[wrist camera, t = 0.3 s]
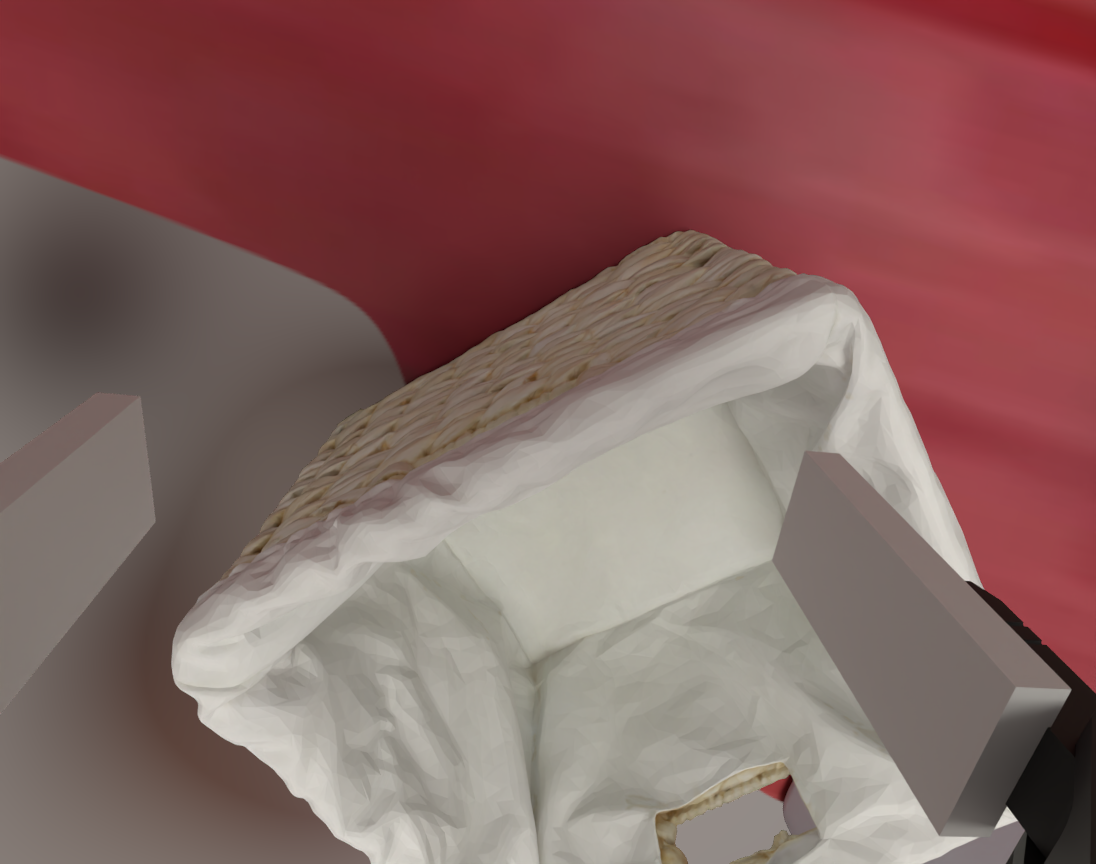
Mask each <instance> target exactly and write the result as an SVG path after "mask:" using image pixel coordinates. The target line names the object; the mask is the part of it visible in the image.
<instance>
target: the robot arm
mask: <svg viewBox="0 0 1096 864" xmlns="http://www.w3.org/2000/svg"><path fill="white" fill-rule="evenodd" d="M155 522H156V519H155V511H154V503H153V495H152V488H151V479H150V471H149V462H148V454H147V446H146V438H145V430H144V421H143V413H142V405H141V397H140V396H131V395H120V394H108V393H96V394H94V395H93V396H92V397H90V398H89V399H88V400H87V401H85V402H84V403H82V404H81V405H79V406H78V407H77V408H76V409H74V410H73V411H71V412H70V413H69V414H67V415H66V416H64V417H63V418H62V419H60V420H59V421H58V422H56V423H55V424H54V425H52V426H51V427H49V428H48V429H47V430H45V431H44V432H43V433H41V434H40V435H39V436H37V437H36V438H34V439H33V440H32V441H30V442H29V443H28V444H26V445H25V446H24V447H22V448H21V449H19V450H18V451H17V452H15V453H14V454H13V455H11V456H10V457H9V458H7V459H6V460H4V461H3V462H2V463H0V714H1V713H2V712H3V711H4V709H5V708H6V707H7V706H8V704H9V703H10V702H11V701H12V699H13V698H14V697H15V696H16V695H17V693H18V692H19V691H20V690H21V688H22V687H23V686H24V685H25V683H26V682H27V681H28V680H29V678H30V677H31V676H32V675H33V673H34V672H35V671H36V670H37V668H38V667H39V666H40V665H41V663H42V662H43V661H44V660H45V658H46V657H47V656H48V654H50V652H51V651H52V650H53V649H54V647H55V646H56V645H57V644H58V642H59V641H60V640H61V639H62V637H63V636H64V635H65V634H66V632H67V631H68V630H69V629H70V627H71V626H72V625H73V623H74V622H75V621H76V620H77V619H78V617H79V616H80V615H81V614H82V613H83V611H84V610H85V609H86V608H87V606H88V605H89V604H90V602H91V601H92V600H93V599H94V598H95V596H96V595H97V594H98V593H99V591H100V590H101V589H102V587H103V586H104V585H105V584H106V583H107V581H108V580H109V579H110V577H111V576H112V575H113V574H114V573H115V571H116V570H117V569H118V568H119V567H120V565H121V564H122V563H123V562H124V560H125V559H126V558H127V557H128V555H129V554H130V553H131V552H132V550H133V549H134V548H135V546H136V545H137V544H138V543H139V542H140V540H141V539H142V538H143V537H144V535H145V534H146V533H147V532H148V530H149V529H150V528H151V527H152V525H153V524H154V523H155ZM772 562H773V563H774V565H775V567H776V568H777V570H778V571H779V573H780V575H781V576H782V578H783V580H784V581H785V583H786V585H787V586H788V588H789V590H790V591H791V593H792V595H793V596H794V598H795V600H796V601H797V603H798V604H799V606H800V608H801V609H802V611H803V613H804V614H805V616H806V618H807V619H808V621H809V623H810V624H811V626H812V628H813V629H814V631H815V632H816V634H817V636H818V637H819V639H820V641H821V642H822V644H823V646H824V647H825V649H826V651H827V652H828V654H829V656H830V657H831V659H832V660H833V662H834V664H835V665H836V667H837V669H838V670H839V672H840V674H841V675H842V677H843V679H844V680H845V682H846V684H847V685H848V687H849V688H850V690H851V692H852V693H853V695H854V697H855V698H856V700H857V702H858V703H859V705H860V707H861V708H862V710H863V712H864V713H865V715H866V716H867V718H868V720H869V721H870V723H871V725H872V726H873V728H874V730H875V731H876V733H877V735H878V736H879V738H880V740H881V741H882V743H883V744H884V746H885V748H886V749H887V751H888V753H889V754H890V756H891V758H892V759H893V761H894V763H895V764H896V766H897V768H898V769H899V771H900V772H901V774H902V776H903V777H904V779H905V781H906V782H907V784H908V786H909V787H910V789H911V791H912V792H913V794H914V796H915V797H916V799H917V800H918V802H919V804H920V805H921V807H922V809H923V810H924V812H925V814H926V815H927V817H928V819H929V820H930V822H931V824H932V825H933V827H934V828H935V830H936V832H937V833H938V835H939V836H944V837H990V836H991V834H992V832H993V830H994V829H995V827H996V825H997V823H998V821H999V820H1000V818H1001V816H1002V814H1003V812H1004V811H1005V809H1006V807H1008V808H1009V809H1010V811H1011V812H1012V814H1013V815H1014V816H1015V818H1016V819H1017V820H1018V822H1019V823H1020V825H1021V826H1022V827H1023V829H1024V830H1025V831H1024V833H1023V835H1022V836H1021V838H1020V840H1019V841H1018V843H1017V845H1016V847H1015V848H1014V850H1013V852H1012V853H1011V855H1010V857H1009V859H1008V860H1007V862H1006V864H1096V693H1095V692H1093V691H1092V690H1091V689H1090V688H1089V687H1088V686H1087V685H1086V684H1085V683H1084V682H1083V681H1082V680H1081V679H1080V678H1079V677H1078V676H1077V675H1076V674H1075V673H1074V672H1073V671H1072V670H1071V669H1070V668H1069V667H1068V666H1067V665H1066V664H1065V663H1064V662H1063V661H1062V660H1061V659H1060V658H1059V657H1058V656H1057V655H1056V654H1055V653H1054V652H1053V651H1052V650H1051V649H1050V648H1049V647H1048V646H1047V645H1042V644H1041V641H1042V640H1041V639H1040V638H1039V637H1038V636H1036V635H1035V634H1034V633H1033V632H1032V631H1031V630H1030V629H1029V628H1028V627H1024V626H1023V622H1022V621H1021V620H1020V619H1019V618H1018V617H1017V616H1016V615H1015V614H1014V613H1013V612H1012V611H1011V610H1010V609H1009V608H1008V607H1007V606H1006V605H1005V604H1004V603H1003V602H1002V601H1001V600H999V599H998V598H996V597H995V596H993V595H991V594H990V593H988V592H987V591H985V590H984V589H982V588H981V587H979V586H978V585H976V584H974V583H973V582H971V581H965V580H964V579H963V578H962V577H961V576H960V575H959V574H958V573H957V572H956V571H955V570H954V569H953V568H952V567H951V566H950V565H949V564H948V563H947V562H946V561H945V560H944V559H943V558H942V557H941V556H940V555H939V554H938V553H937V552H936V551H935V550H934V549H933V548H932V547H931V546H930V545H929V544H928V543H927V542H926V541H925V540H924V539H923V538H922V537H921V536H920V535H919V534H918V533H917V532H916V531H915V530H914V529H913V528H912V527H911V526H910V525H909V524H908V523H907V522H906V521H905V520H904V519H903V518H902V516H901V515H900V514H899V513H898V512H897V511H896V510H895V509H894V508H893V507H892V506H891V505H890V504H889V503H888V502H887V501H886V500H885V499H884V498H883V497H882V496H881V495H880V494H879V493H878V492H877V491H876V490H875V489H874V488H873V487H872V486H871V485H870V484H869V483H868V482H867V481H866V480H865V479H864V478H863V477H862V476H861V475H860V474H859V473H858V472H857V471H856V470H855V469H854V468H853V467H852V466H851V465H850V464H849V463H848V462H847V461H846V460H845V459H844V458H843V457H842V456H841V455H840V454H839V453H827V452H815V451H805V452H804V455H803V458H802V462H801V465H800V468H799V472H798V475H797V478H796V482H795V485H794V488H793V492H792V495H791V498H790V502H789V505H788V508H787V512H786V515H785V518H784V522H783V525H782V528H781V532H780V535H779V538H778V542H777V545H776V548H775V552H774V555H773V558H772Z"/></svg>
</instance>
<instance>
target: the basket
mask: <svg viewBox="0 0 1096 864" xmlns="http://www.w3.org/2000/svg"><path fill="white" fill-rule="evenodd" d="M805 451H815V452H827V453H839V454H840V455H841V456H842V457H843V458H844V459H845V460H846V461H847V462H848V463H849V464H850V465H851V466H852V467H853V468H854V469H855V470H856V471H857V472H858V473H859V474H860V475H861V476H862V477H863V478H864V479H865V480H866V481H867V482H868V483H869V484H870V485H871V486H872V487H873V488H874V489H875V490H876V491H877V492H878V493H879V494H880V495H881V496H882V497H883V498H884V499H885V500H886V501H887V502H888V503H889V504H890V505H891V506H892V507H893V508H894V509H895V510H896V511H897V512H898V513H899V514H900V515H901V516H902V518H903V519H904V520H905V521H906V522H907V523H908V524H909V525H910V526H911V527H912V528H913V529H914V530H915V531H916V532H917V533H918V534H919V535H920V536H921V537H922V538H923V539H924V540H925V541H926V542H927V543H928V544H929V545H930V546H931V547H932V548H933V549H934V550H935V551H936V552H937V553H938V554H939V555H940V556H941V557H942V558H943V559H944V560H945V561H946V562H947V563H948V564H949V565H950V566H951V567H952V568H953V569H954V570H955V571H956V572H957V573H958V574H959V575H960V576H961V577H962V578H963V579H964V580H965V581H971V582H973V583H974V584H976V585H978V586H979V587H981V588H982V589H984V588H983V586H982V584H981V582H980V580H979V577H978V574H977V571H976V569H975V566H974V563H973V560H972V557H971V554H970V551H969V548H968V546H967V543H966V540H965V537H964V534H963V532H962V529H961V527H960V525H959V523H958V521H957V518H956V516H955V514H954V512H953V510H952V507H951V505H950V503H949V501H948V498H947V496H946V494H945V492H944V490H943V487H942V485H941V483H940V481H939V479H938V477H937V476H936V474H935V472H934V471H933V469H932V466H931V463H930V460H929V457H928V454H927V452H926V449H925V447H924V444H923V442H922V440H921V437H920V435H919V432H918V430H917V427H916V425H915V422H914V420H913V417H912V415H911V413H910V411H909V409H908V407H907V405H906V403H905V402H904V400H903V398H902V395H901V392H900V389H899V386H898V383H897V380H896V378H895V376H894V374H893V371H892V369H891V367H890V365H889V362H888V360H887V357H886V355H885V352H884V349H883V347H882V344H881V342H880V340H879V337H878V335H877V333H876V331H875V328H874V326H873V324H872V322H871V319H870V317H869V316H868V314H867V313H866V312H865V310H864V309H863V307H862V306H861V304H860V303H859V301H858V299H857V298H856V296H855V295H854V293H853V292H852V291H851V290H849V289H848V288H846V287H845V286H843V285H840V284H837V283H834V282H832V281H830V280H828V279H826V278H823V277H820V276H816V275H807V274H804V273H803V274H799V275H797V274H796V273H795V272H793V271H792V270H790V269H788V268H781V269H780V268H777V267H773V266H772V265H771V264H770V263H769V262H768V261H766V260H764V259H762V258H761V257H760V256H758V255H756V254H750V253H747V252H746V251H743V250H735V249H732V248H731V247H728V246H726V245H725V244H723V243H722V242H720V241H719V240H717V239H716V238H713V237H710V236H709V235H707V234H703V233H699V232H696V231H694V230H688V231H686V232H681V231H677V232H675V233H673V234H671V235H669V236H668V237H659V238H658V239H656V240H655V241H653V242H651V243H650V244H648V245H646V246H642V247H640V248H638V249H637V250H635V251H634V252H632V253H631V254H629V255H627V256H626V257H625V258H624V259H623V260H622V261H621V262H620V263H619V264H618V266H614V267H608V268H606V269H605V270H603V271H602V272H600V273H599V274H598V275H597V276H596V277H594V278H593V279H591V280H589V281H588V282H587V283H585V284H583V285H581V286H579V287H578V288H576V289H571V290H569V291H568V292H567V293H565V294H564V295H562V296H560V297H559V298H557V299H556V300H555V301H553V302H552V303H550V304H548V305H547V306H545V307H543V308H542V309H540V310H539V311H538V312H536V313H534V314H532V315H530V316H528V317H526V318H525V319H523V320H521V321H519V322H518V323H516V324H514V325H512V326H510V327H508V328H506V329H505V330H504V331H498V332H496V333H494V334H492V335H491V336H490V337H488V338H487V339H486V340H484V341H483V342H482V343H480V344H479V345H477V346H475V347H473V348H471V349H469V350H468V351H467V352H465V353H464V354H463V355H461V356H459V357H457V358H456V359H454V360H453V361H451V362H450V363H448V364H447V365H444V366H442V367H440V368H438V369H436V370H434V371H432V372H429V373H427V374H425V375H422V376H420V377H418V378H417V379H415V380H414V381H412V382H411V383H409V384H407V385H406V386H404V387H402V388H400V389H399V390H397V391H395V392H393V393H391V394H389V395H388V396H386V397H385V398H384V399H382V400H380V401H379V402H377V403H376V404H374V405H372V406H370V407H368V408H366V409H360V410H358V411H357V412H355V413H353V414H352V415H350V416H348V417H347V418H345V419H344V420H343V421H341V422H340V423H339V424H338V425H337V427H336V428H335V429H334V431H333V432H332V434H331V435H330V437H329V438H328V440H327V441H326V443H325V444H323V445H322V447H321V448H320V450H319V452H318V456H317V457H316V458H314V459H313V460H312V461H311V462H310V463H309V464H307V465H306V466H305V467H304V468H303V469H302V470H301V472H300V474H299V476H298V480H296V482H295V483H294V485H293V486H292V487H291V488H290V490H289V492H287V493H286V494H285V496H284V497H283V498H282V499H281V501H280V503H279V505H278V507H276V509H275V510H274V511H273V513H272V514H270V515H269V516H268V518H266V520H265V522H264V524H263V525H262V527H261V529H260V532H259V535H258V536H257V537H255V538H254V539H252V540H251V541H250V542H249V543H248V544H247V545H246V547H245V548H244V550H243V551H242V554H241V556H240V558H238V559H237V560H235V562H234V563H233V565H232V567H231V569H229V570H227V571H226V572H225V573H224V575H223V576H222V578H221V580H219V581H218V582H217V583H216V584H215V585H214V586H213V587H211V588H210V589H209V590H208V591H206V592H205V593H203V594H202V595H201V596H200V597H199V598H198V600H197V603H196V604H195V605H194V606H193V608H192V609H191V610H190V611H189V612H188V613H187V615H186V616H185V617H184V619H183V620H182V621H181V623H180V624H179V626H178V627H177V630H176V633H175V636H174V639H173V648H172V662H171V665H172V673H173V677H174V681H175V684H176V685H177V687H178V688H179V689H180V690H182V691H184V692H185V693H187V694H189V695H190V696H192V697H194V698H195V699H196V700H197V702H198V717H199V719H200V721H201V722H202V723H203V724H204V725H206V726H207V727H209V728H210V729H211V730H213V731H214V732H216V733H217V734H218V735H220V736H221V737H222V738H224V739H226V740H228V741H229V742H232V743H233V744H236V745H242V746H245V747H246V748H247V749H248V750H249V751H251V752H252V753H253V754H254V755H255V756H257V757H258V758H259V759H260V760H261V761H263V762H264V763H266V764H267V765H269V766H270V767H271V768H272V769H274V770H275V771H276V773H277V774H278V775H279V776H280V777H281V778H282V779H283V780H284V782H285V784H286V786H287V787H288V789H289V790H290V792H291V793H292V794H293V795H294V796H296V797H299V798H304V799H305V800H306V801H307V802H308V803H309V804H310V806H311V808H312V810H313V812H314V813H315V814H316V815H317V816H318V817H319V818H320V819H321V820H322V821H323V822H324V823H325V824H326V825H327V826H328V828H329V829H330V831H331V832H332V833H333V835H334V836H335V837H336V838H338V839H340V840H342V841H344V842H346V843H348V844H349V845H351V846H353V847H354V848H356V849H358V850H360V851H363V852H364V853H365V854H366V855H367V856H368V857H369V859H370V862H371V864H688V862H687V859H686V857H685V855H684V854H683V852H682V851H681V850H680V849H679V848H677V847H676V845H675V840H676V835H677V827H676V826H677V825H678V824H683V823H684V822H685V821H686V820H687V819H688V820H692V819H693V818H694V817H696V816H698V815H702V814H704V813H705V812H706V811H707V810H713V809H715V808H716V807H721V806H722V804H723V803H729V802H732V801H734V800H736V799H738V798H740V797H741V796H742V795H745V794H750V793H751V792H753V791H756V790H759V789H761V788H762V787H764V786H767V785H769V784H771V783H773V782H775V781H777V780H779V779H785V778H787V777H788V776H789V775H791V776H792V778H793V781H794V783H795V786H796V788H797V790H798V792H799V794H800V797H801V799H802V800H803V802H804V804H805V806H806V808H807V809H808V811H809V813H810V815H811V817H812V819H813V821H814V823H815V825H816V828H813V829H811V830H808V831H806V832H804V833H802V834H799V835H794V834H792V835H788V833H787V831H784V830H781V831H780V833H779V834H778V835H776V836H774V843H773V845H772V847H771V848H770V849H769V850H760V851H758V852H756V853H754V854H753V855H751V856H748V857H744V858H740V859H738V860H736V861H733V862H731V863H730V864H923V863H925V862H928V861H930V860H933V859H935V858H938V857H941V856H942V855H944V854H946V853H947V852H949V851H950V850H952V849H954V848H956V847H959V846H961V845H963V844H966V843H968V842H970V841H972V840H975V839H977V838H979V837H944V836H939V835H938V833H937V832H936V830H935V828H934V827H933V825H932V824H931V822H930V820H929V819H928V817H927V815H926V814H925V812H924V810H923V809H922V807H921V805H920V804H919V802H918V800H917V799H916V797H915V796H914V794H913V792H912V791H911V789H910V787H909V786H908V784H907V782H906V781H905V779H904V777H903V776H902V774H901V772H900V771H899V769H898V768H897V766H896V764H895V763H894V761H893V759H892V758H891V756H890V754H889V753H888V751H887V749H886V748H885V746H884V744H883V743H882V741H881V740H880V738H879V736H878V735H877V733H876V731H875V730H874V728H873V726H872V725H871V723H870V721H869V720H868V718H867V716H866V715H865V713H864V712H863V710H862V708H861V707H860V705H859V703H858V702H857V700H856V698H855V697H854V695H853V693H852V692H851V690H850V688H849V687H848V685H847V684H846V682H845V680H844V679H843V677H842V675H841V674H840V672H839V670H838V669H837V667H836V665H835V664H834V662H833V660H832V659H831V657H830V656H829V654H828V652H827V651H826V649H825V647H824V646H823V644H822V642H821V641H820V639H819V637H818V636H817V634H816V632H815V631H814V629H813V628H812V626H811V624H810V623H809V621H808V619H807V618H806V616H805V614H804V613H803V611H802V609H801V608H800V606H799V604H798V603H797V601H796V600H795V598H794V596H793V595H792V593H791V591H790V590H789V588H788V586H787V585H786V583H785V581H784V580H783V578H782V576H781V575H780V573H779V571H778V570H777V568H776V567H775V565H774V563H773V562H772V558H773V555H774V552H775V548H776V545H777V542H778V538H779V535H780V532H781V528H782V525H783V522H784V518H785V515H786V512H787V508H788V505H789V502H790V498H791V495H792V492H793V488H794V485H795V482H796V478H797V475H798V472H799V468H800V465H801V462H802V458H803V455H804V452H805ZM1016 821H1018V820H1017V819H1016V818H1015V816H1014V815H1013V814H1012V812H1011V811H1010V809H1009V808H1008V807H1006V809H1005V811H1004V812H1003V814H1002V816H1001V818H1000V820H999V821H998V823H997V825H996V827H995V829H997V828H1000V827H1003V826H1005V825H1008V824H1011V823H1013V822H1016ZM995 829H994V830H995Z"/></svg>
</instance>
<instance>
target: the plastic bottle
mask: <svg viewBox="0 0 1096 864" xmlns="http://www.w3.org/2000/svg"><path fill="white" fill-rule="evenodd" d="M783 813H784V818H785V822H786V824H787V827H788V829H789V831H790V833H791V835H792V834H794V835H799V834H802V833H804V832H806V831H808V830H811V829H813V828H816V825H815V823H814V821H813V819H812V817H811V815H810V813H809V811H808V809H807V808H806V806H805V804H804V802H803V800H802V799H801V797H800V794H799V792H798V790H797V788H796V786H795V783H794V781H792V783H791V785H790V787H789V789H788V791H787V794H786V796H785V799H784V805H783ZM1024 831H1025V830H1024V829H1023V827H1022V826H1021V825H1020V823H1019V822H1018V821H1016V822H1013V823H1011V824H1008V825H1005V826H1003V827H1000V828H997V829H995V830H993V832H992V834H991V836H990V837H979V838H977V839H975V840H972V841H970V842H968V843H966V844H963V845H961V846H959V847H956V848H954V849H952V850H950V851H949V852H947V853H946V854H944V855H942V856H941V857H938V858H935V859H933V860H930V861H928V862H925V863H923V864H1006V862H1007V860H1008V859H1009V857H1010V855H1011V853H1012V852H1013V850H1014V848H1015V847H1016V845H1017V843H1018V841H1019V840H1020V838H1021V836H1022V835H1023V833H1024Z"/></svg>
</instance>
